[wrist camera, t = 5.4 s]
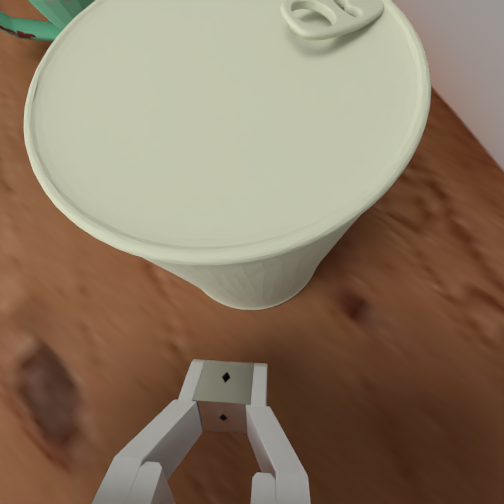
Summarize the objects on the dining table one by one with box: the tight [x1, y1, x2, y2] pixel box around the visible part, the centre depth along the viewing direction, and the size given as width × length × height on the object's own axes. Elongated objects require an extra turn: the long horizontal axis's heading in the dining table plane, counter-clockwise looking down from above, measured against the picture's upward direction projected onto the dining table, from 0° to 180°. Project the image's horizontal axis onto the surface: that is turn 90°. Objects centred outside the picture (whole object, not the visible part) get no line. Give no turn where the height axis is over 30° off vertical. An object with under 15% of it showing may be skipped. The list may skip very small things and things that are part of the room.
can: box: [24, 0, 431, 310], centre depth 11 cm, size 9×9×12 cm
